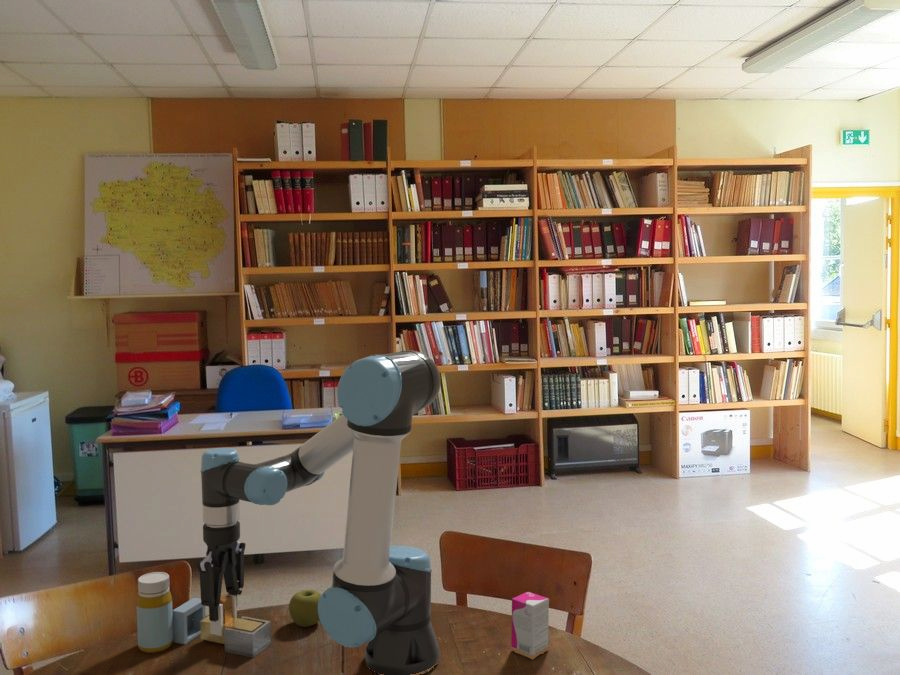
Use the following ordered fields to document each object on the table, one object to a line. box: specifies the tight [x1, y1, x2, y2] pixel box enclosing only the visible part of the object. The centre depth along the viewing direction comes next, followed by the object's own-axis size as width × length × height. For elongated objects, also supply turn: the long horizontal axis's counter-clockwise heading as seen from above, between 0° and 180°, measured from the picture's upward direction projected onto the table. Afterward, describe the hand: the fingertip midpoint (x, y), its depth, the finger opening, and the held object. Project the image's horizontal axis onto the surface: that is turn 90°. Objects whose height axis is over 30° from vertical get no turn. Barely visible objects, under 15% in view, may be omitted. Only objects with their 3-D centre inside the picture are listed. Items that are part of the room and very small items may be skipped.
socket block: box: [172, 597, 207, 645], centre depth 171 cm, size 3×7×7 cm, turn 159°
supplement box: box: [510, 591, 550, 655], centre depth 164 cm, size 6×6×12 cm
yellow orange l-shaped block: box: [200, 594, 263, 645], centre depth 167 cm, size 13×4×9 cm, turn 69°
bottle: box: [136, 571, 174, 654], centre depth 166 cm, size 7×7×15 cm
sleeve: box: [224, 616, 272, 659], centre depth 166 cm, size 7×6×5 cm
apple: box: [288, 589, 322, 628], centre depth 177 cm, size 8×8×7 cm
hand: (224, 628), depth 168 cm, fingers closed on yellow orange l-shaped block, 4 cm apart
